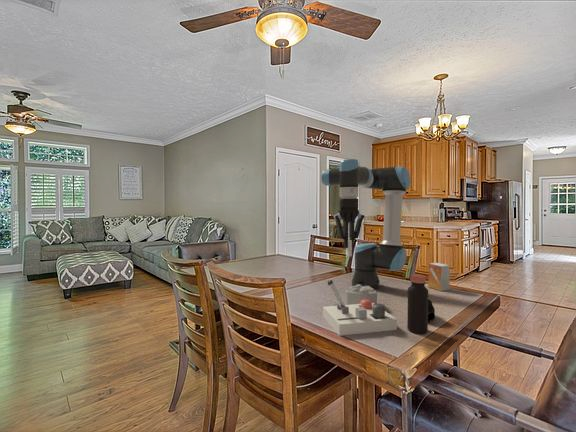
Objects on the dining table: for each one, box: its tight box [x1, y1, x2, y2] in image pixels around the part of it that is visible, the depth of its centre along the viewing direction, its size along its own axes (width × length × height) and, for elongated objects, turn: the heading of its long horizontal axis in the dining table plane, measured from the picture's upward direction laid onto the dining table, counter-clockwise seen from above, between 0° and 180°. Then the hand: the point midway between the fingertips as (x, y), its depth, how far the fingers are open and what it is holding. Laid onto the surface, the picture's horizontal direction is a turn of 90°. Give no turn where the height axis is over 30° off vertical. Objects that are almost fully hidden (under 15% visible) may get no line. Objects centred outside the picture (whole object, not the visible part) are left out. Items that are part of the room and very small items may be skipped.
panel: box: [322, 302, 398, 336], centre depth 117 cm, size 22×18×6 cm
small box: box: [427, 262, 451, 292], centre depth 161 cm, size 8×6×13 cm
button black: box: [373, 303, 386, 319], centre depth 113 cm, size 4×4×6 cm
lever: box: [327, 279, 346, 309], centre depth 118 cm, size 2×3×13 cm
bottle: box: [406, 273, 429, 335], centre depth 109 cm, size 7×7×20 cm
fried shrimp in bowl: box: [428, 298, 436, 323], centre depth 124 cm, size 9×11×18 cm
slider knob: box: [356, 307, 367, 319], centre depth 111 cm, size 3×3×3 cm
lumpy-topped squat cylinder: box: [345, 284, 378, 305], centre depth 135 cm, size 10×13×9 cm
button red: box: [361, 299, 372, 309], centre depth 123 cm, size 4×4×6 cm
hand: (348, 255), depth 124 cm, fingers closed
